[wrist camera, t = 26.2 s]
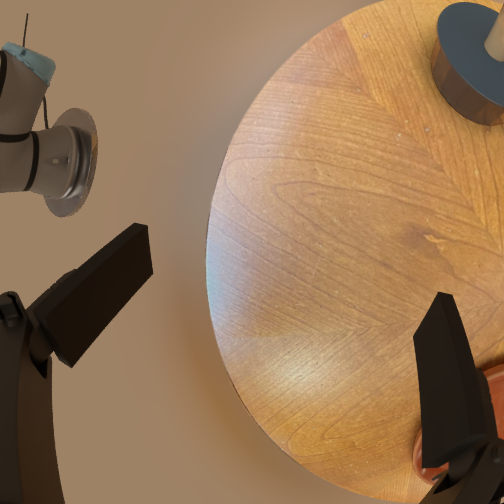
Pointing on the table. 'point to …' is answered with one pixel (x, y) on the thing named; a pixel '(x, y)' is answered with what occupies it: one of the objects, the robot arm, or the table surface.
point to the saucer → (500, 384)
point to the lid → (475, 47)
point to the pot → (462, 93)
